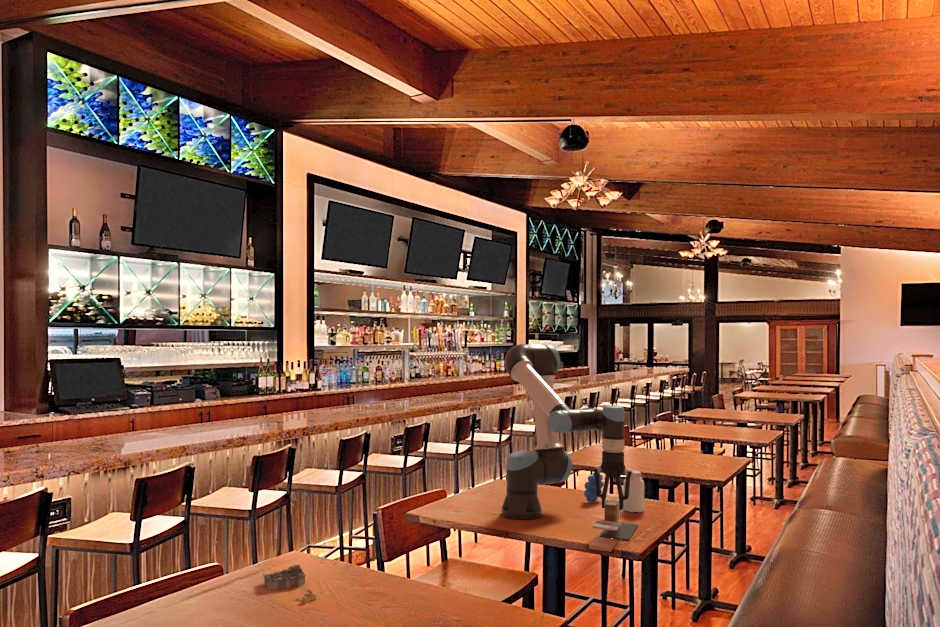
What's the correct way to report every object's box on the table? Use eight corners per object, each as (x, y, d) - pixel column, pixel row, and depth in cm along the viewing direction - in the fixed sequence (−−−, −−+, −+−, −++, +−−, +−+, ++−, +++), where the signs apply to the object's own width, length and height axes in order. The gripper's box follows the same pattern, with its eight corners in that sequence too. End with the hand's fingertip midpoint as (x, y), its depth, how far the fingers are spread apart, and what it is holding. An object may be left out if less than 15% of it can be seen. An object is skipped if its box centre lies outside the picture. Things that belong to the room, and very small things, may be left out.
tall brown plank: (604, 513, 267) (605, 496, 267) (627, 516, 264) (627, 499, 264) (592, 528, 247) (592, 509, 247) (616, 530, 244) (617, 512, 244)
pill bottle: (642, 508, 294) (643, 470, 294) (645, 513, 286) (645, 474, 286) (622, 507, 295) (622, 469, 295) (624, 512, 287) (624, 473, 287)
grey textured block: (301, 578, 210) (301, 563, 210) (307, 587, 203) (307, 571, 203) (262, 583, 206) (262, 568, 206) (267, 592, 199) (267, 576, 199)
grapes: (593, 497, 311) (594, 468, 311) (607, 500, 306) (607, 471, 306) (576, 502, 303) (576, 472, 303) (589, 505, 298) (590, 474, 298)
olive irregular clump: (310, 596, 197) (310, 589, 197) (320, 602, 193) (320, 594, 193) (293, 601, 194) (293, 593, 194) (303, 606, 190) (303, 599, 190)
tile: (595, 541, 249) (589, 550, 240) (595, 536, 249) (589, 544, 240) (616, 544, 247) (610, 552, 238) (616, 539, 247) (611, 547, 238)
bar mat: (599, 537, 253) (599, 535, 253) (610, 523, 272) (610, 521, 272) (629, 541, 249) (629, 539, 249) (638, 526, 268) (638, 524, 268)
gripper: (587, 450, 258) (586, 518, 258) (635, 454, 253) (634, 523, 252) (591, 447, 265) (590, 513, 265) (639, 450, 260) (638, 518, 259)
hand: (612, 518), depth 259 cm, fingers closed on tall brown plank, 3 cm apart
